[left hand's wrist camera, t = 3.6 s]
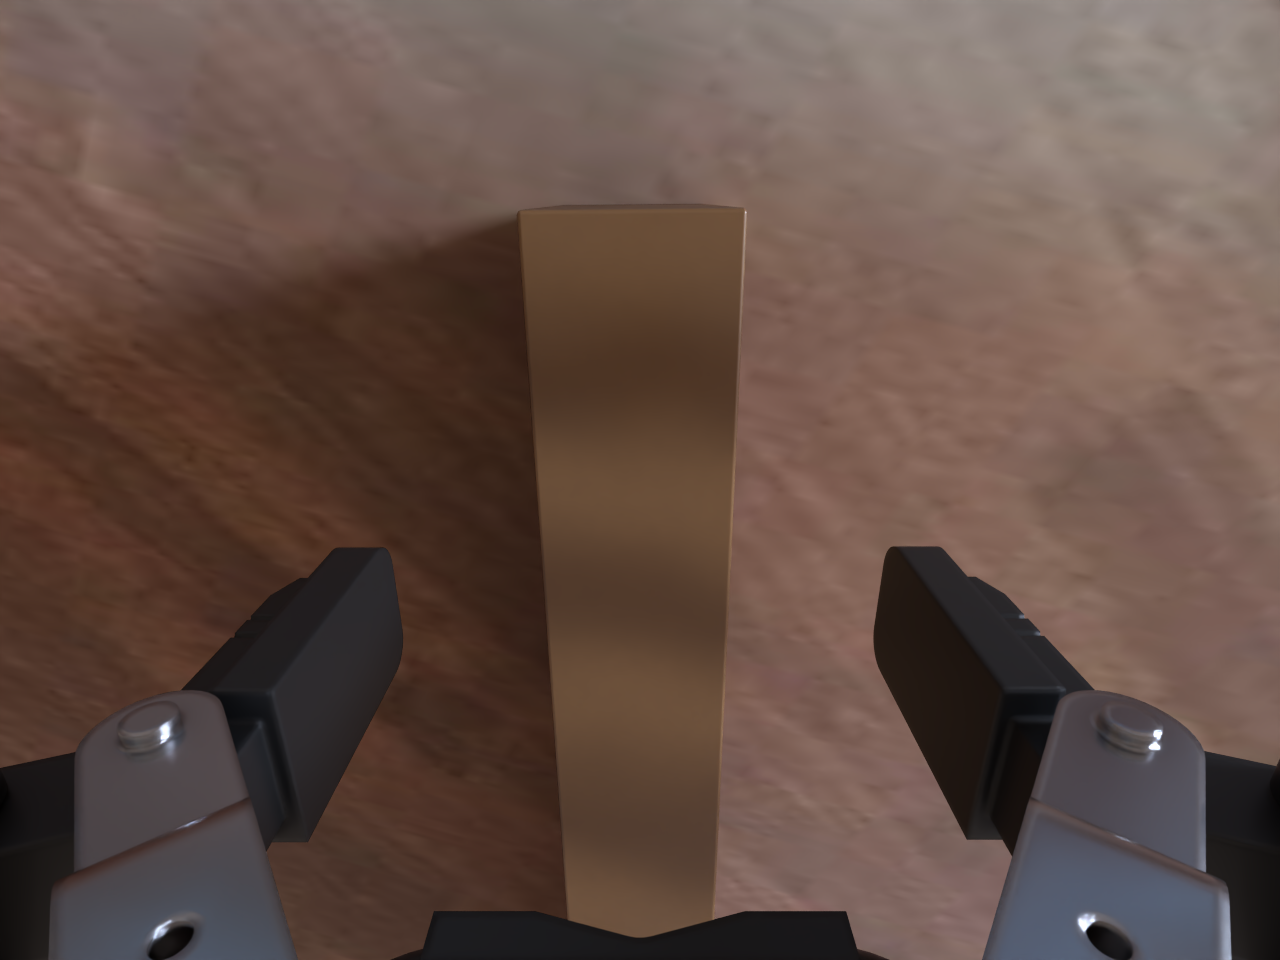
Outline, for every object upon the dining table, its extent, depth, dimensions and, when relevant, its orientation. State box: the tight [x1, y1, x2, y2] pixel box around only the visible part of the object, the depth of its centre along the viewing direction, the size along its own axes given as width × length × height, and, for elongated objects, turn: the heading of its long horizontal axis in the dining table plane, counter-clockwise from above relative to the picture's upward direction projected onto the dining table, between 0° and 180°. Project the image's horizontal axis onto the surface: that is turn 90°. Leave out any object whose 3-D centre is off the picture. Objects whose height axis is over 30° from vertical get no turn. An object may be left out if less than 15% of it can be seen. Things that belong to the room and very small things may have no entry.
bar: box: [517, 204, 747, 937], centre depth 28 cm, size 57×4×9 cm, turn 1°
